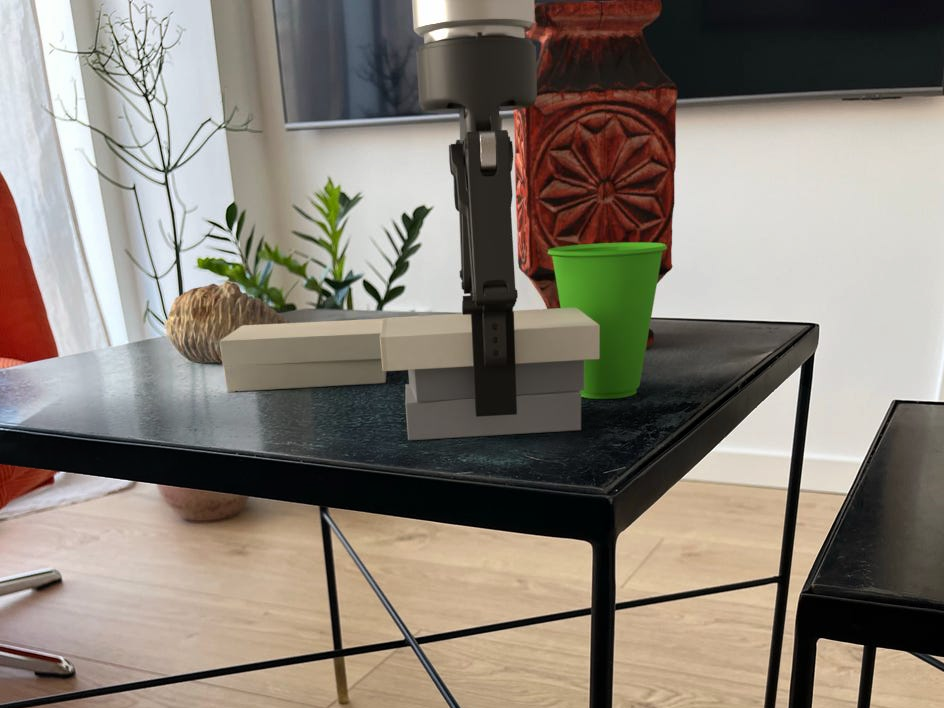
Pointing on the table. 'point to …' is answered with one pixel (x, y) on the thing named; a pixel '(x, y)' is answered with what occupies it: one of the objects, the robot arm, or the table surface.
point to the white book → (451, 339)
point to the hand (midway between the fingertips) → (490, 398)
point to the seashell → (213, 319)
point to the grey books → (538, 410)
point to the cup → (611, 307)
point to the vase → (594, 138)
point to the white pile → (303, 355)
